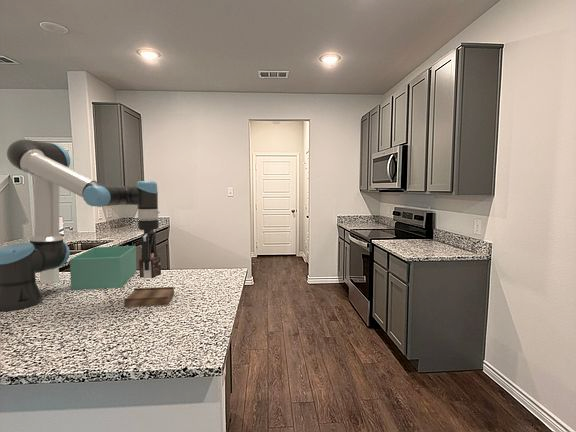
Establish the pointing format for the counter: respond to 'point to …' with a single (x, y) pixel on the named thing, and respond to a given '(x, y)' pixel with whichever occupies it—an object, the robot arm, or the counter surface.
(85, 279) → the box
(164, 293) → the dock
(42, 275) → the milk
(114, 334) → the counter surface
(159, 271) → the box
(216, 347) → the counter surface
